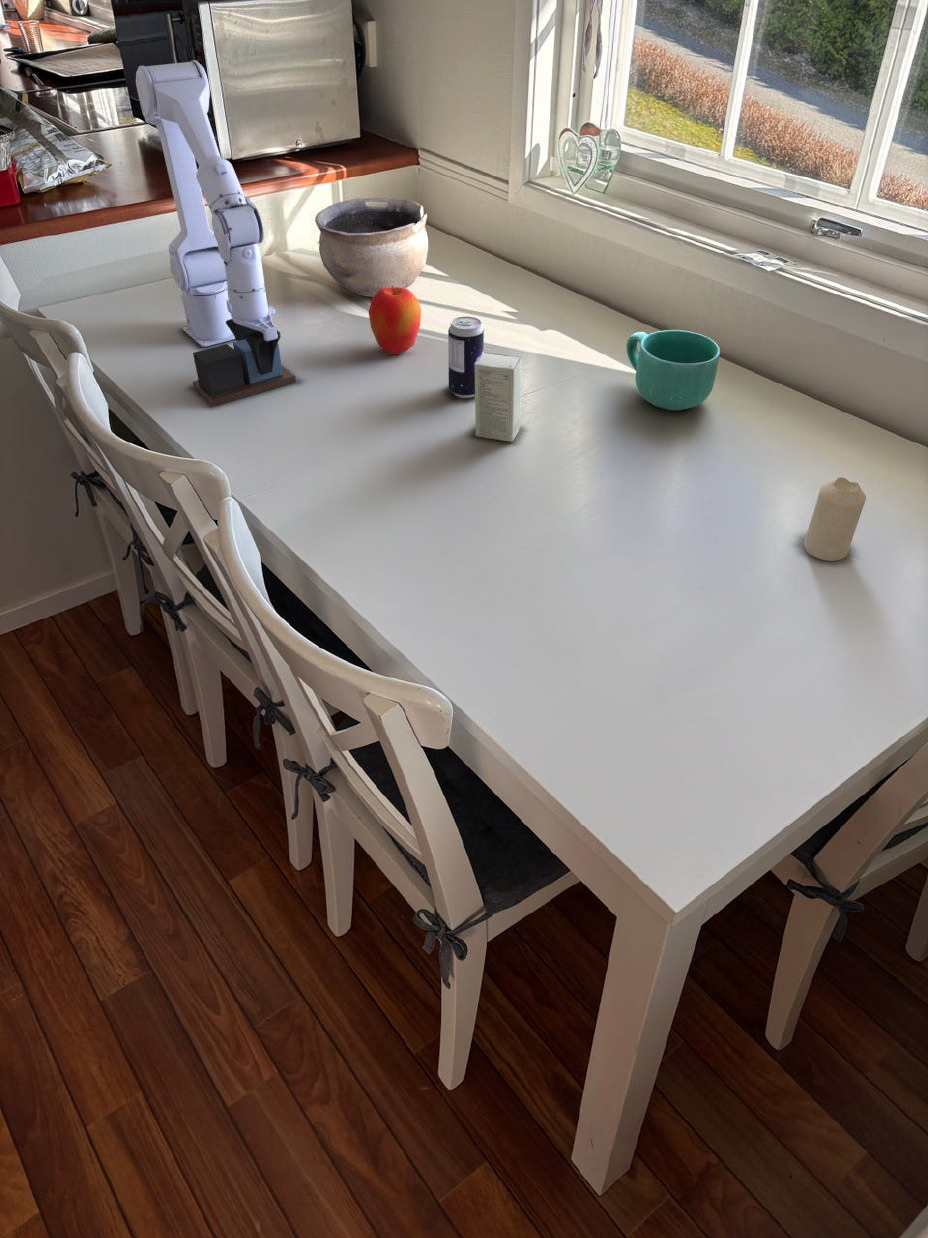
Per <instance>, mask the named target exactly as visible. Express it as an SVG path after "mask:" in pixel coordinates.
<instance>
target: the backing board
mask: <svg viewBox="0 0 928 1238" xmlns="http://www.w3.org/2000/svg"><path fill="white" fill-rule="evenodd" d="M281 366H282V373H283V375H280V376H276V377H273V378H269V379H266V380H262V381H259V382H255V383H252V384H250V383H249V382H248V381H247V380H245V379H244V383H245V386H242V387H238V388H235V389H231V390H228V391H224V392H221V393H217V394H214V395H211V394H210V393H208V392H207V391H206V390H205V389H204V388H203V387H202V386H201V385H200V384H199V381H198V379H197V380H193V381H192V385H193V389H195V390H196V391H197V393H199V394H200V395H201V396H202V397H203V398H204V399H205V400H207V402H208V403H209V404H211V406H212V407H216V406H220V405H224V404H227V403H230V402H235V401H237V400H241V399H243V398H247V397H251V396H255V395H256V394H261V393H265V392H267V391H271V390H274V389H279V388H281V387H284V386H287V385H291V384H294V383H296V382H297V381H296V375H295V374H294V373H292V372H291V371H290V370H288V369H287V368H286V367H285V366H284V365H282V364H281Z"/></svg>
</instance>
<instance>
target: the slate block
mask: <svg viewBox="0 0 928 1238" xmlns="http://www.w3.org/2000/svg"><path fill="white" fill-rule="evenodd" d="M232 347H233V348H232V349H234V350H235V351H236V352H237V353H238V354H240V359H241V365H242V371H243V377H244V379H245V380H247V381H248V382H249V383H250V384H252V383H255V382H259V381H262V380H266V379H269V378H273V377H276V376H280V375H283V373H282V366H283V365H282V360H281V358H282V357H281V352H280V345H279V342H278V343H277V346H276V349H275V354H274V362H273V370H272V372H270V373H266V374H263V375H261V374H260V373H259V371H258V368H257V365H256V362H255V358H254V355H253V352H252V350H251V348H250V346H249V344H248V342H247V341H246V340H245V339H243V340H240V341H236V340H235V341H233V342H232ZM281 365H282V366H281Z"/></svg>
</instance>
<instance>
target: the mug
mask: <svg viewBox="0 0 928 1238" xmlns="http://www.w3.org/2000/svg"><path fill="white" fill-rule="evenodd" d="M626 341H627V342H626V347H625V348H626V355H627V357H628V360H629V363H630V364H631V366H632V368H633V369H634V370H635V384H636V390H637V391H638V393H639V395H640V396H641V397H642V398H643V399H644V400H645V401H646V402H648V403H650V404H651V405H653V406H654V407H656V408H658V409H662V410H667V411H672V412H673V411H676V412H677V411H684V410H687V409H690V408H694V407H696V406H698V405H700V404H702V403H703V402H704V401H706V400H707V399H708V397H709V396H710V395H711V392H712V390H713V388H714V383H715V380H716V376H717V370H718V366H719V360H720V356H721V355H720V354H721V349H720V346H719V345H718V343H716V342H715V341H714V340H713V339H711V338H710V337H708V336H706V335H705V334H700V333H697V332H694V331H691V330H689V331H688V330H681V329H678V330H677V329H665V330H658V331H654V332H651V333H649V334H648V333H646V332H644V331H637V332H634V333H633V334H631V335H630V336H629V338H628V339H627V340H626Z"/></svg>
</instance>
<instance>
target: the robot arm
mask: <svg viewBox="0 0 928 1238" xmlns="http://www.w3.org/2000/svg"><path fill="white" fill-rule="evenodd" d="M135 86H136V91H137V94H138V95H137V96H138V99H139V104H140V108H141V111H142V115H143V117H144V120H145V123H146V124H150V125H153V126H155V127H156V129H157V132H158V135H159V138H160V143H161V147H162V152H163V156H164V161H165V166H166V170H167V174H168V179H169V183H170V187H171V191H172V197H173V201H174V206H175V211H176V213H177V219H178V223H179V227H180V230H179V232H178V233H177V235H176V236H175V237H174V239H172V240H171V242H169V244H168V253H169V265H170V272H171V275H172V277H173V280H174V282H175V284H176V286H177V288H178V289H180V290H181V300H182V305H183V310H184V316H185V319H186V324H187V325H186V326H184V327H182V330H183V332H185V333H186V334H187V335H188V336H189V337H190V338H191V339H193V340H194V341H195V342H196V343H197V344H199V345H200V346H201V347H203V348H207V347H210V346H213V345H218V344H221V343H225V342H229V341H233V340H235V342H236V341H240V340H243V339H245V340H246V341H247V342H248V344H249V346H250V348H251V350H252V352H253V355H254V358H255V362H256V365H257V368H258V371H259V373H260V374H261V375H263V374H266V373H270V372H272V370H273V362H274V354H275V349H276V346H277V343H278V344H279V341H280V339H281V336H282V335H281V331H279V330H278V329H277V326H276V325H275V324H274V322H273V319H272V316H273V315H275V314H276V309H275V308H274V307H272V306H270V305H268V300H267V292H266V284H265V278H264V271H263V263H262V255H261V248H260V244H261V243H263V241H264V237H265V235H264V234H265V232H264V225H263V220H262V218H261V214H260V212H259V210H258V208H257V206H256V205H255V203H253V202H252V200H251V199H250V197H249V196H246V195H245V193H244V191H243V189H242V186H241V184H240V181H239V179H238V176H237V175H236V172H235V169H234V167H233V165H232V163H231V162H230V161H229V160H227V159H225V158H223V157H221V154H220V151H219V147H218V145H217V141H216V138H215V135H214V132H213V129H212V126H211V123H210V119H209V117H208V112H209V109H210V97H211V91H210V90H211V89H210V83H209V79H208V76H207V73H206V71H205V68H204V67H203V65H202V64H200V62H199V61H198V60H196V59H193V60H191V61H186V62H176V63H167V64H157V65H146V66H145V65H139V66H138V67H137V70H136V74H135ZM197 164H198V167H197ZM204 199H205V201H206V204H207V207H208V209H209V211H210V213H211V227H212V229H211V228H210V225H209V220H208V215H207V211H206V210H207V209H206V206H205V205H206V204H205V201H204Z"/></svg>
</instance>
